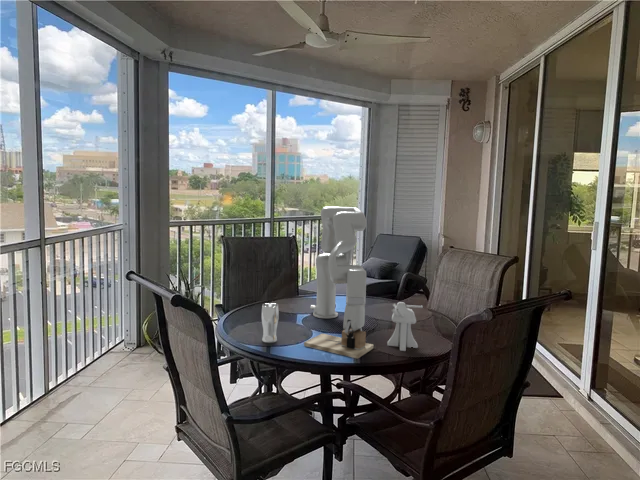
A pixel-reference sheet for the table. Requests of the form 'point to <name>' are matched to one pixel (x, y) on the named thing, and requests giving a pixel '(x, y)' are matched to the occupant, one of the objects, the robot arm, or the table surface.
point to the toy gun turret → (403, 326)
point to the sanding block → (359, 339)
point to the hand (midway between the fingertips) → (354, 345)
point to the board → (336, 346)
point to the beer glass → (269, 322)
